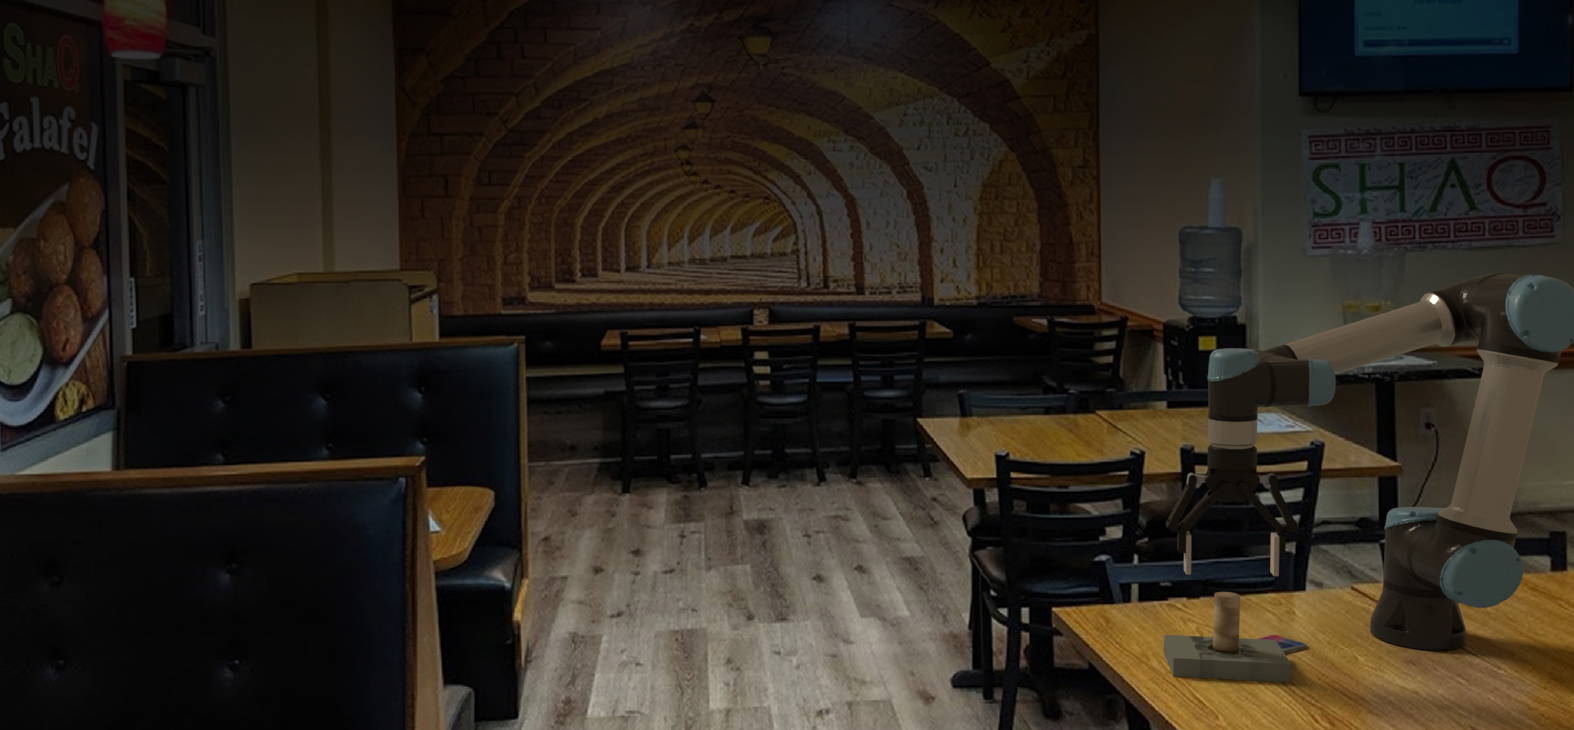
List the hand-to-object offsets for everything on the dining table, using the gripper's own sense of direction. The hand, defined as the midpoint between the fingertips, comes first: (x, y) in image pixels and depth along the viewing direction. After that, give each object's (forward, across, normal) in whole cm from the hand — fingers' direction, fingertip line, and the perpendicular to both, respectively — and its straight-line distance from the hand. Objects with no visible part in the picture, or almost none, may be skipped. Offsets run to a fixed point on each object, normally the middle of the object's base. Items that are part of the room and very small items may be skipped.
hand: (1230, 573), depth 207 cm
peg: (+16, +1, 0) cm, 16 cm away
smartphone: (+16, -7, -10) cm, 21 cm away
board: (+16, +1, 0) cm, 16 cm away
